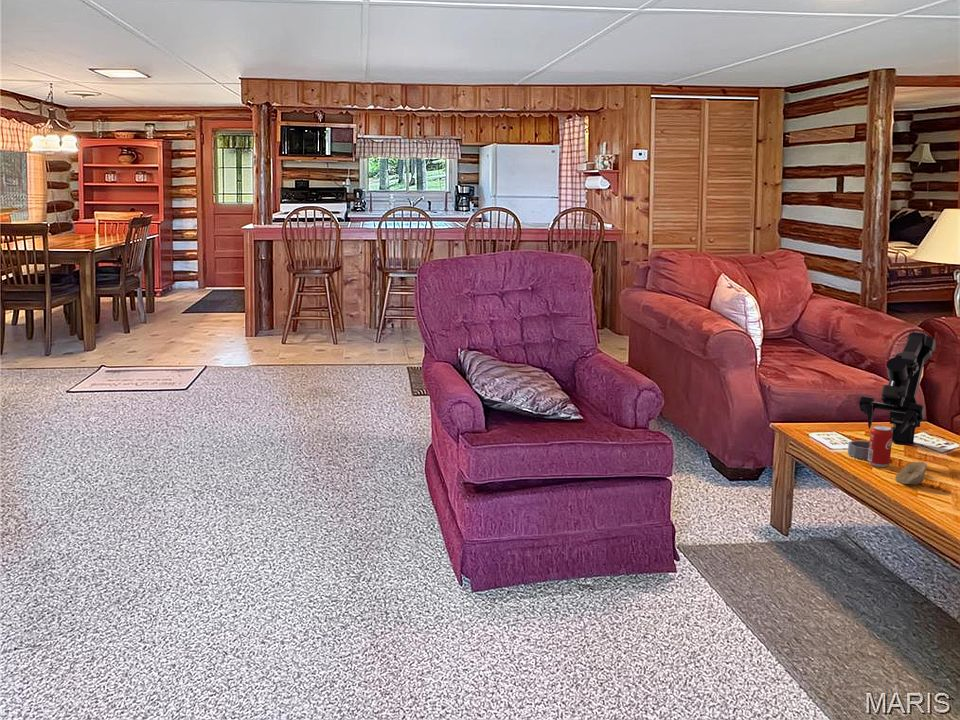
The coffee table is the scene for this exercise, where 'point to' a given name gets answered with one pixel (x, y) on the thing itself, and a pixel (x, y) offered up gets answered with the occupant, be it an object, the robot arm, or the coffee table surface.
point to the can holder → (858, 449)
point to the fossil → (912, 473)
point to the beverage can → (880, 446)
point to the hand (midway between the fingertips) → (884, 430)
